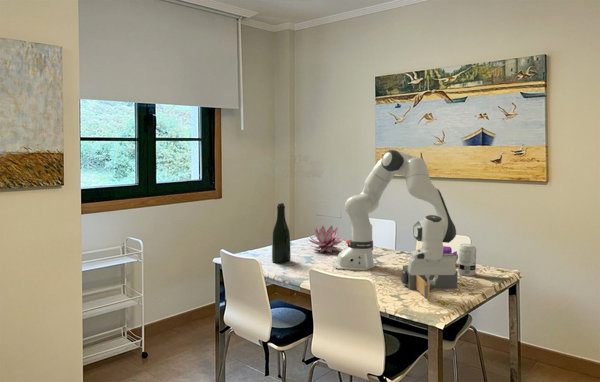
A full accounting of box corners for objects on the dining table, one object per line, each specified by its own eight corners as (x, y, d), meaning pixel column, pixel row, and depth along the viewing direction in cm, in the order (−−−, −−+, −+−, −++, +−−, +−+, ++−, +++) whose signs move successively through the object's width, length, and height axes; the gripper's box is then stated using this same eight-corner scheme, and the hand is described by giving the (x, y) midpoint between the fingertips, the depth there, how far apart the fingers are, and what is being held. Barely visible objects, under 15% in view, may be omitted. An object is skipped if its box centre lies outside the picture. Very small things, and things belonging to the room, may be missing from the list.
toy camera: (459, 267, 260) (459, 249, 259) (432, 266, 262) (433, 248, 261) (456, 262, 270) (457, 245, 269) (431, 261, 273) (431, 244, 272)
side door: (413, 287, 221) (414, 274, 220) (417, 287, 221) (417, 274, 220) (425, 299, 205) (425, 285, 204) (429, 299, 205) (429, 285, 204)
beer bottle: (282, 264, 266) (282, 204, 263) (268, 261, 272) (267, 203, 269) (294, 260, 274) (294, 202, 271) (280, 258, 281) (279, 201, 277)
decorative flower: (301, 251, 299) (301, 226, 297) (325, 246, 313) (325, 222, 312) (326, 257, 283) (326, 231, 281) (350, 251, 297) (351, 227, 296)
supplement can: (455, 272, 250) (456, 243, 249) (471, 272, 251) (472, 243, 249) (462, 276, 242) (463, 247, 241) (478, 276, 243) (479, 246, 241)
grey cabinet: (406, 289, 221) (406, 272, 221) (399, 282, 233) (399, 265, 232) (457, 288, 223) (457, 271, 222) (447, 281, 235) (448, 264, 234)
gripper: (453, 251, 213) (452, 282, 215) (407, 251, 213) (406, 282, 214) (458, 255, 207) (457, 286, 209) (411, 255, 207) (410, 287, 208)
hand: (431, 284), depth 212 cm, fingers closed
